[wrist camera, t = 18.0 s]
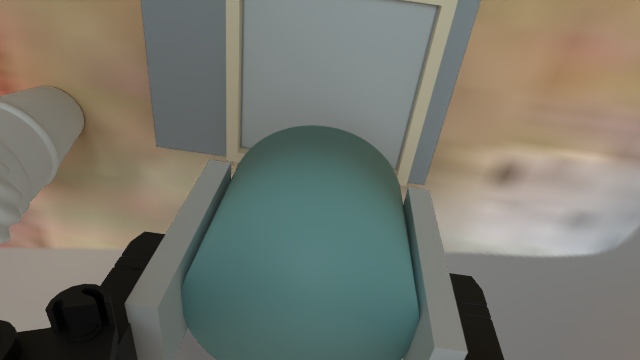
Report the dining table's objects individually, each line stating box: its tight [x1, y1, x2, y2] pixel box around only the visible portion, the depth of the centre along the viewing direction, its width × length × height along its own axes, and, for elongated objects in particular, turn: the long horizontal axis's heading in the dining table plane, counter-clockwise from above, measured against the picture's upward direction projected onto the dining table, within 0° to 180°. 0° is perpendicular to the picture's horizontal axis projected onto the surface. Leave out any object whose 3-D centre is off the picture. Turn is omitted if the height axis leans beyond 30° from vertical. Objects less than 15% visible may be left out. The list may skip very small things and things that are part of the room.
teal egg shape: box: [181, 125, 419, 360], centre depth 14 cm, size 6×6×6 cm
